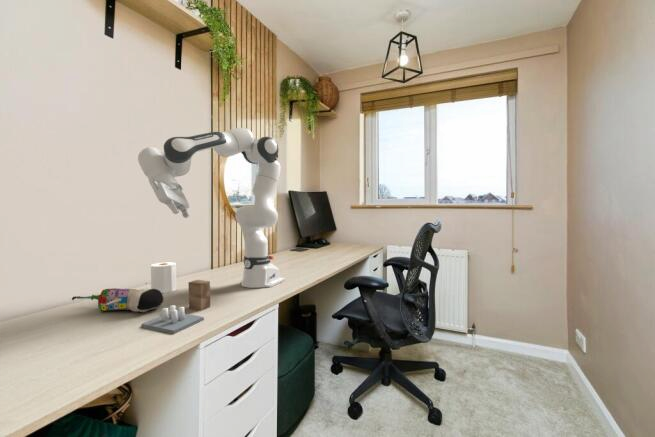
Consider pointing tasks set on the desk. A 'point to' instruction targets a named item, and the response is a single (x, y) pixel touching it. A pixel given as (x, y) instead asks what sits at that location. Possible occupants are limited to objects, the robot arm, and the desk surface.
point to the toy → (127, 299)
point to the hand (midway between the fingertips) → (181, 215)
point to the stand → (172, 320)
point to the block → (199, 295)
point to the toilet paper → (163, 276)
